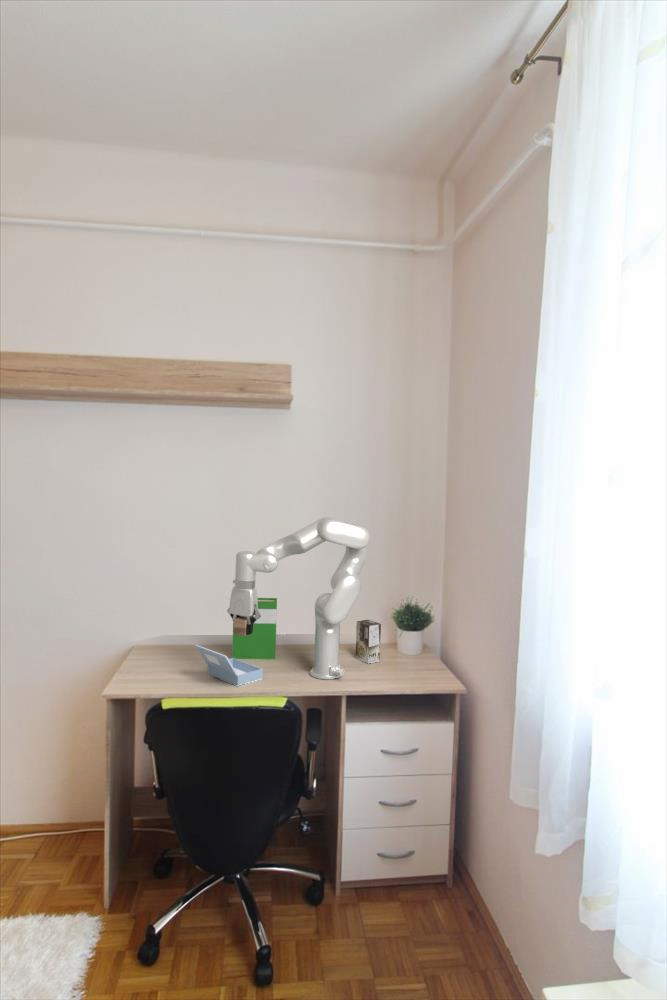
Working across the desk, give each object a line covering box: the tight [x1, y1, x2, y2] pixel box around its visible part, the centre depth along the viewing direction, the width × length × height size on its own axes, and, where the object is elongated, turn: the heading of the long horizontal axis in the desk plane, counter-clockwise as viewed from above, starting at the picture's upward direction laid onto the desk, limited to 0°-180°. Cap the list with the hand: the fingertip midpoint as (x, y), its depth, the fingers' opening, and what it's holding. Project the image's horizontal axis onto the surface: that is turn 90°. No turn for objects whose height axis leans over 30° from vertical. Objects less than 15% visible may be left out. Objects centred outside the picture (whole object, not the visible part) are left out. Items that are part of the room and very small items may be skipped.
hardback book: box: [231, 597, 278, 660], centre depth 279 cm, size 18×7×24 cm, turn 94°
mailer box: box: [207, 657, 264, 687], centre depth 253 cm, size 18×12×4 cm, turn 47°
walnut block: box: [234, 616, 251, 636], centre depth 249 cm, size 5×5×6 cm
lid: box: [195, 644, 238, 676], centre depth 246 cm, size 18×10×1 cm
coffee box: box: [355, 619, 382, 665], centre depth 278 cm, size 9×6×16 cm
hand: (242, 632), depth 249 cm, fingers closed on walnut block, 5 cm apart
